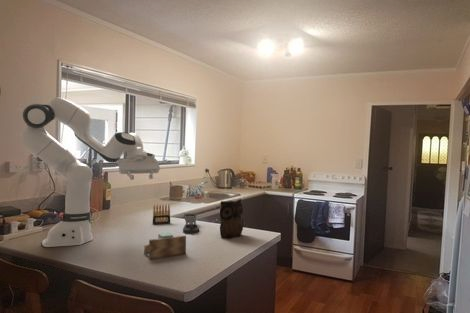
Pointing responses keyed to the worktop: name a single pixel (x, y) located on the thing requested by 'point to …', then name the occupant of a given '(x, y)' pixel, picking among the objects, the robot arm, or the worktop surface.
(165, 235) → the cabinet block
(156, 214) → the ammunition clip
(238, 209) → the owl
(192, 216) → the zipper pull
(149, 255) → the board
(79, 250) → the worktop surface
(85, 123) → the robot arm
